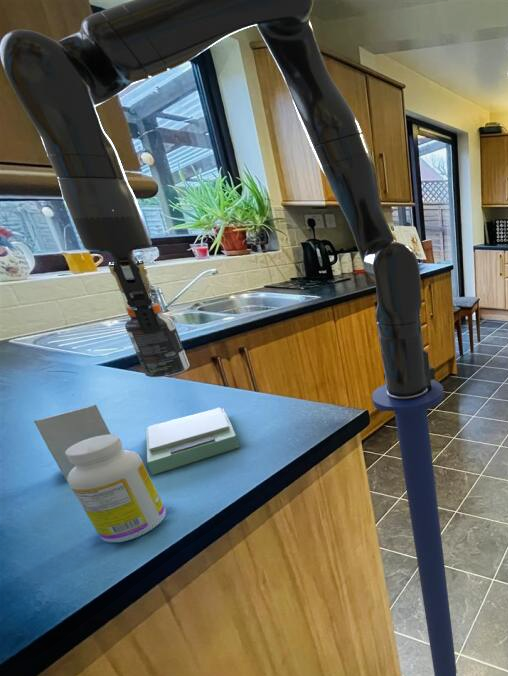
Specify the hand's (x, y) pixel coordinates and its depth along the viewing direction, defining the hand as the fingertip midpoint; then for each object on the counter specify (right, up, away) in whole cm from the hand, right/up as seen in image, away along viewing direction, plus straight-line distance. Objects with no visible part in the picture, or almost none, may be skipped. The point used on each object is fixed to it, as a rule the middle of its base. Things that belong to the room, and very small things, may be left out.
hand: (151, 327), depth 64 cm
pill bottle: (0, -7, +3) cm, 8 cm away
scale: (+1, -20, +8) cm, 21 cm away
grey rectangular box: (-11, -23, +2) cm, 25 cm away
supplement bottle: (+8, -28, -11) cm, 31 cm away
